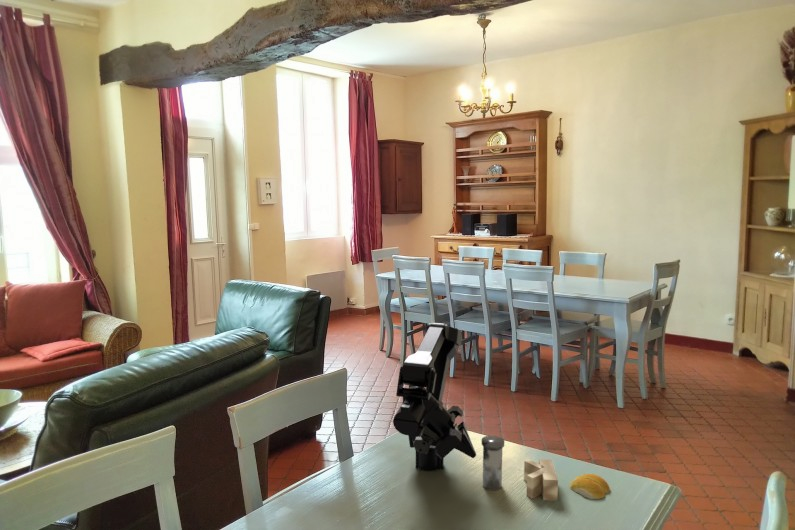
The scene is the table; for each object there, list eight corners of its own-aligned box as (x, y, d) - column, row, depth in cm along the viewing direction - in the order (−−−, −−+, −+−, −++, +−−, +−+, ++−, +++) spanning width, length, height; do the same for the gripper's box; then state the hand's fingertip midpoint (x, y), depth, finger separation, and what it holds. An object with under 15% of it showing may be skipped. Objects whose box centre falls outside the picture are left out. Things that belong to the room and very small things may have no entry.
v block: (527, 499, 127) (527, 478, 126) (523, 477, 137) (523, 458, 136) (557, 501, 126) (557, 480, 125) (551, 479, 136) (551, 459, 135)
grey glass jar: (480, 490, 131) (481, 444, 129) (480, 479, 136) (481, 435, 134) (503, 491, 130) (504, 445, 129) (502, 480, 135) (503, 436, 134)
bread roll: (614, 492, 133) (615, 475, 132) (597, 507, 126) (598, 490, 126) (580, 480, 138) (581, 464, 138) (563, 493, 132) (563, 477, 131)
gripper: (408, 415, 143) (451, 459, 143) (398, 447, 125) (448, 498, 125) (439, 386, 141) (483, 431, 141) (434, 415, 123) (485, 466, 123)
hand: (474, 456), depth 133 cm, fingers closed
